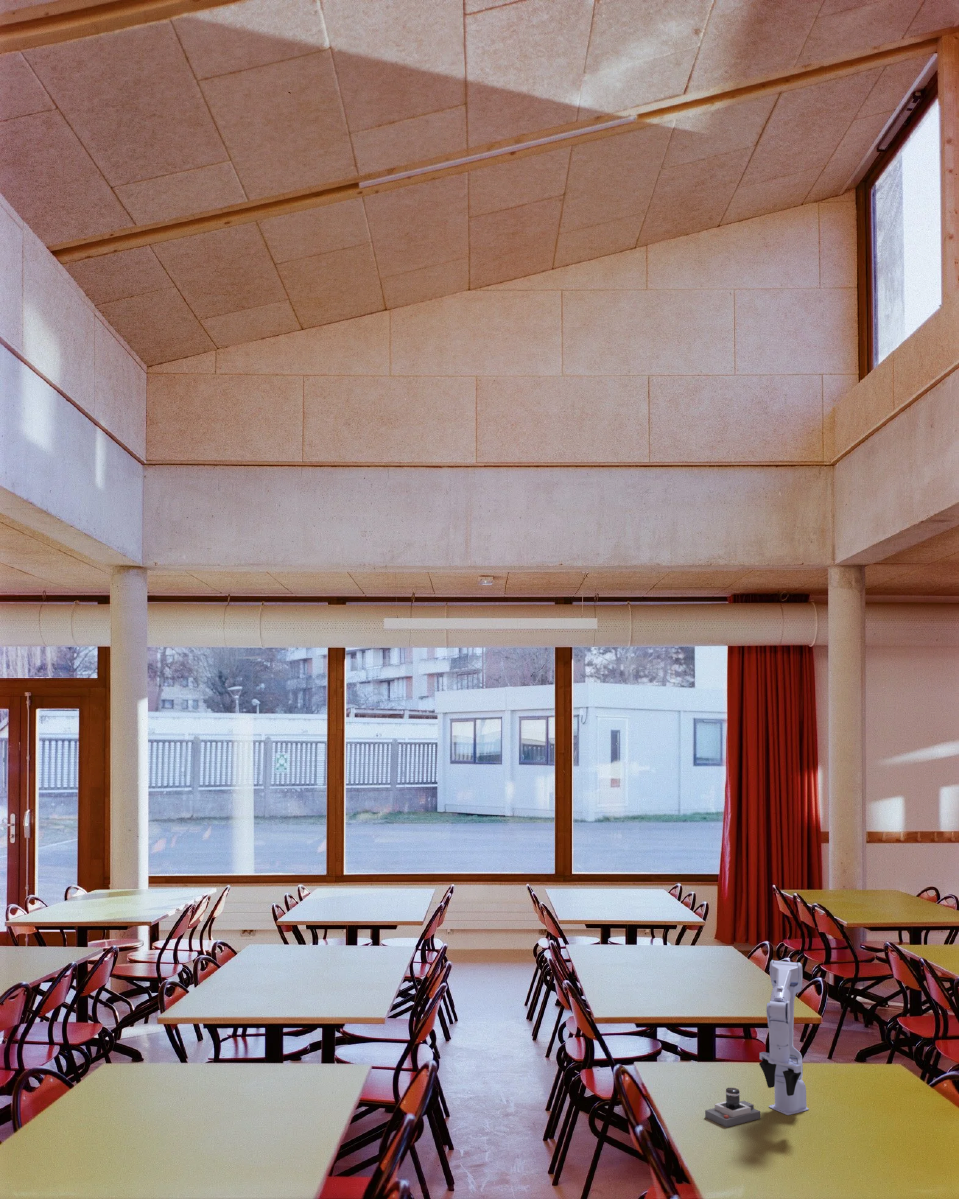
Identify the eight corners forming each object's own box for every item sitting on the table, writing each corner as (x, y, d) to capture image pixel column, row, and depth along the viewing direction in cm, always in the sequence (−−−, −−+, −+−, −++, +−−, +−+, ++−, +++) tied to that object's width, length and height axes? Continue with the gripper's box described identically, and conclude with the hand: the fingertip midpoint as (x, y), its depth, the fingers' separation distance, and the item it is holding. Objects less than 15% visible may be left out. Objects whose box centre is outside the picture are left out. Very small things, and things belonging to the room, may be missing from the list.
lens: (734, 1107, 310) (734, 1087, 311) (742, 1112, 306) (742, 1091, 307) (723, 1109, 309) (723, 1088, 310) (731, 1114, 305) (730, 1093, 306)
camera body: (738, 1108, 315) (738, 1096, 315) (760, 1118, 307) (760, 1106, 307) (705, 1117, 308) (705, 1105, 308) (726, 1127, 300) (726, 1114, 300)
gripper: (751, 1039, 308) (753, 1086, 307) (788, 1052, 296) (789, 1101, 294) (768, 1035, 312) (769, 1082, 310) (805, 1048, 299) (806, 1096, 298)
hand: (780, 1091), depth 302 cm, fingers open, 7 cm apart
